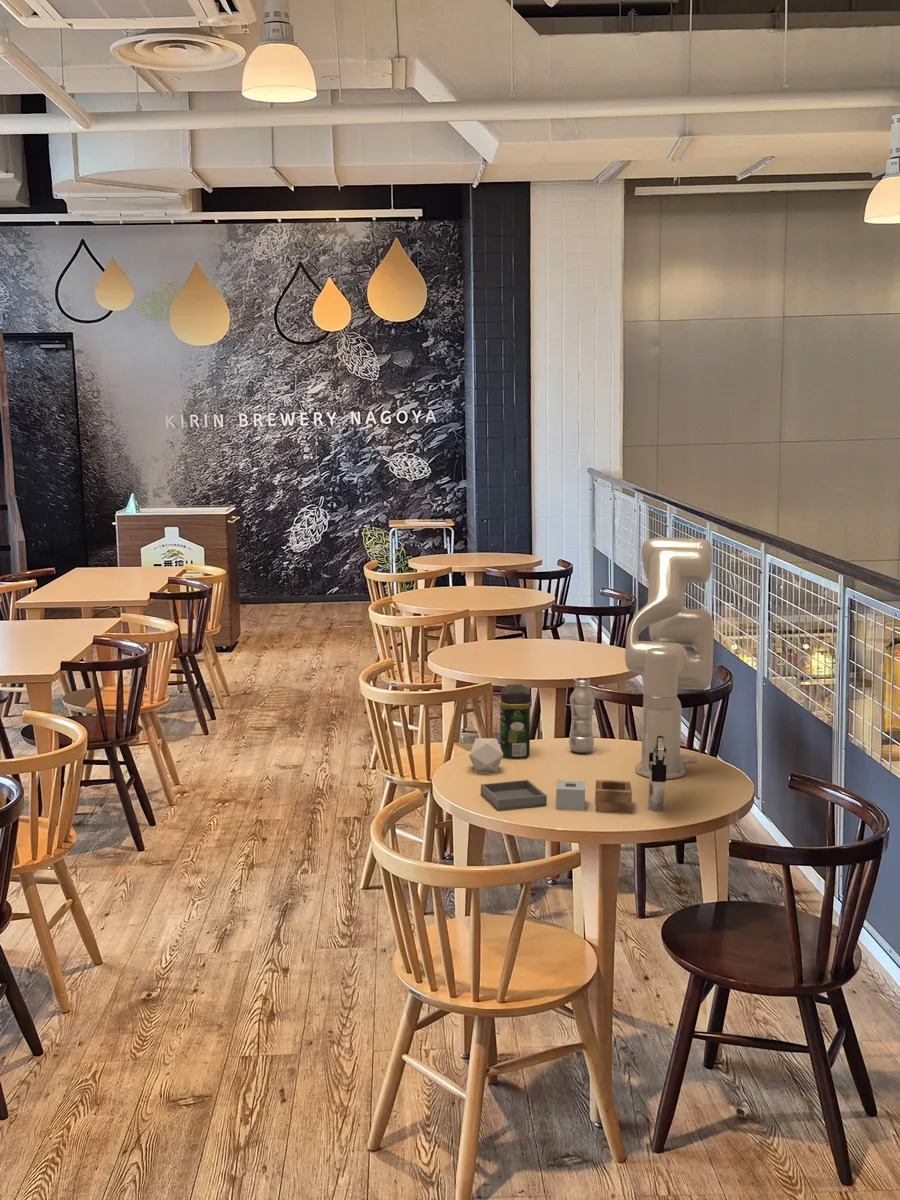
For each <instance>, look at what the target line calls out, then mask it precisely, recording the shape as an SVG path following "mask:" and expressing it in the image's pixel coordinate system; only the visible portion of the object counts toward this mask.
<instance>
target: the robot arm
mask: <svg viewBox="0 0 900 1200" xmlns="http://www.w3.org/2000/svg"><path fill="white" fill-rule="evenodd" d="M641 561H642V567H643V571H644V573H645V578H646V580H647V582H648V593H647V603H646V604H645V605H644V606H643V607H642V608H640V609H639V610H638V612H637V613H636V614H635V615H634V616H633V617H632V619H631V621H630V623H629V625H628V626H627V631H626V636H625V637H626V639H625V640H626V641H625V651H624V663H625V666H626V668H627V669H628V670H629V671H630V672H632V673H634V674H635V673H636V674H641V677H642V689H643V690H642V692H643V694H642V695H643V696H642V698H643V699H642V701H643V702H642V710H643V711H642V733H641V734H642V735H641V736H642V737H641V761H640V762H638V763H636V764H635V765H634V770H635V772H636V773H637V774H639V775H640V776H643V777H647V778H649V770H650V769H649V764H650V761H653V764H652V777H651V780H652V781H653V782H665V783H666V781H667V780H670V779H672V780H673V779H678V778H680V777H683V776H685V775H686V768H685V766H686V765H687V764H690V765H691V764H697V762H698V757H697V756H696V755H689V756H688V755H687V754H682V753H681V735H682V734H681V733H682V703H681V701H680V699H679V698H678V689H681V690H682V689H683V690H684V689H685V690H705V689H708V688H709V687H710V685H711V684H712V680H713V671H714V670H713V666H714V665H713V664H714V621H713V617H712V615H711V613H710V612H708V611H707V610H704V609H697V608H685V583H687V584H705V583H707V582H708V581H709V579H710V577H711V575H712V567H713V550H712V545H711V542H710V541H709V540H708V539H705V538H700V537H699V538H697V537H696V538H695V537H674V536H673V537H667V536H666V537H663V536H661V537H653V538H648V539H646V540H644V542H643V544H642V546H641ZM647 627H648V634H649V638H650V640H651V641H650V640H648V641H647V640H639V636H640V634H641V633H642V632H643V630H645V629H646V628H647ZM686 647H688V648H689V647H690V648H692V649H693V650H686Z"/></svg>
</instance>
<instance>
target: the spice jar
mask: <svg viewBox="0 0 900 1200" xmlns="http://www.w3.org/2000/svg"><path fill="white" fill-rule="evenodd" d="M652 764H653V761H650V764H649V769H650V770H649V777H648V778H649V779H648V798H647V799H648V800H647V801H648V802H647V803H648V804H647V809H648V810H649V811H652V812H663V811H664V810H665V796H666V795H665V791H666V790H665V788H666V782H653V781H652V780H651V777H652Z"/></svg>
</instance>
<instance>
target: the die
mask: <svg viewBox="0 0 900 1200" xmlns="http://www.w3.org/2000/svg"><path fill="white" fill-rule="evenodd" d="M471 747H472V748H471V749H470V752H469V755H468V757H469V759H470V762H471V764H472V767H473V769H474V771H475V772H474V773H497V772H498V770H499V767H500V764H501V762H502V760H503V758H504V756H503V752H502V750H501V748H500V743H499V742H498V739H497V738H492V737H491V738H489V737H488V738H486V737H485V738H483V737H482V738H479V737H478V738H477V737H475V739H474V741H473V744H472V746H471Z"/></svg>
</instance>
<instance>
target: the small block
mask: <svg viewBox="0 0 900 1200" xmlns="http://www.w3.org/2000/svg"><path fill="white" fill-rule="evenodd" d="M585 782H586V781H584V780H566V779H565V780H564V779H562V780H560V779H556V788H555V789H556V791H555V794H556V795H555V810H565V811H567V810H568V811H585V799H586V798H585V797H586V796H585V795H586V783H585Z"/></svg>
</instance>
